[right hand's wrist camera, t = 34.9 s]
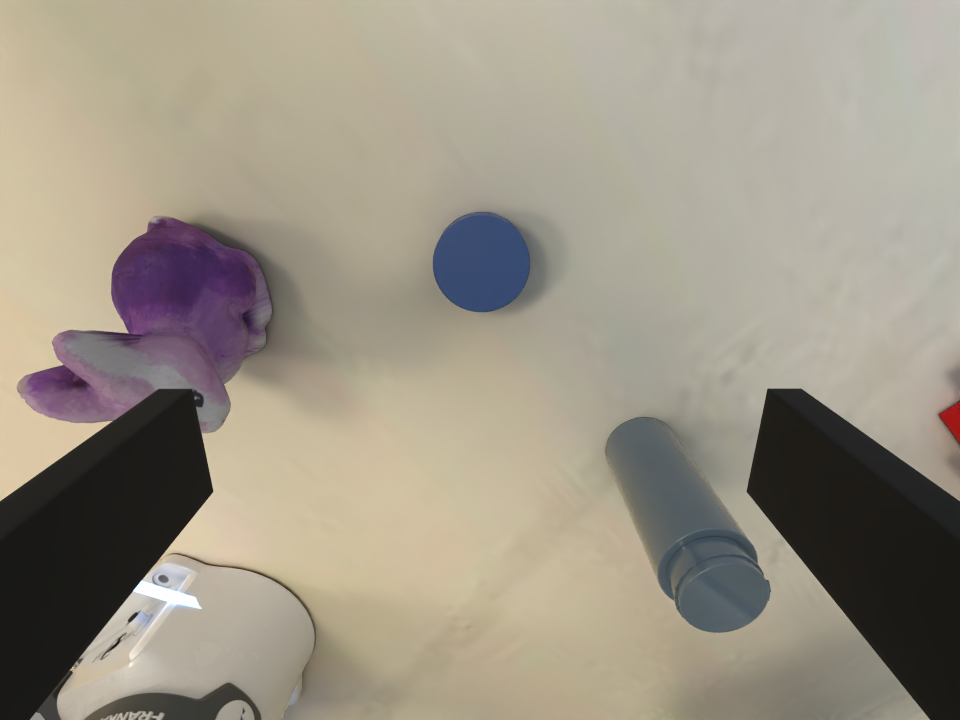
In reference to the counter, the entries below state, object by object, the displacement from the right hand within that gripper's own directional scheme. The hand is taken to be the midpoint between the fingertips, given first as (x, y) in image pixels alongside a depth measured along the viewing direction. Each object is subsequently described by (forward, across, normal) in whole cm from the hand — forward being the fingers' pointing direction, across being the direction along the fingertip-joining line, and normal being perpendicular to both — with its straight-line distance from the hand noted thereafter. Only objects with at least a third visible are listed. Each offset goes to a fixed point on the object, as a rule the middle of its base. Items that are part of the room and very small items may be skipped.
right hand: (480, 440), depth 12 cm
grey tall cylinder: (+26, +13, -15) cm, 33 cm away
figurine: (+26, -18, -3) cm, 32 cm away
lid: (+24, 0, 0) cm, 24 cm away
